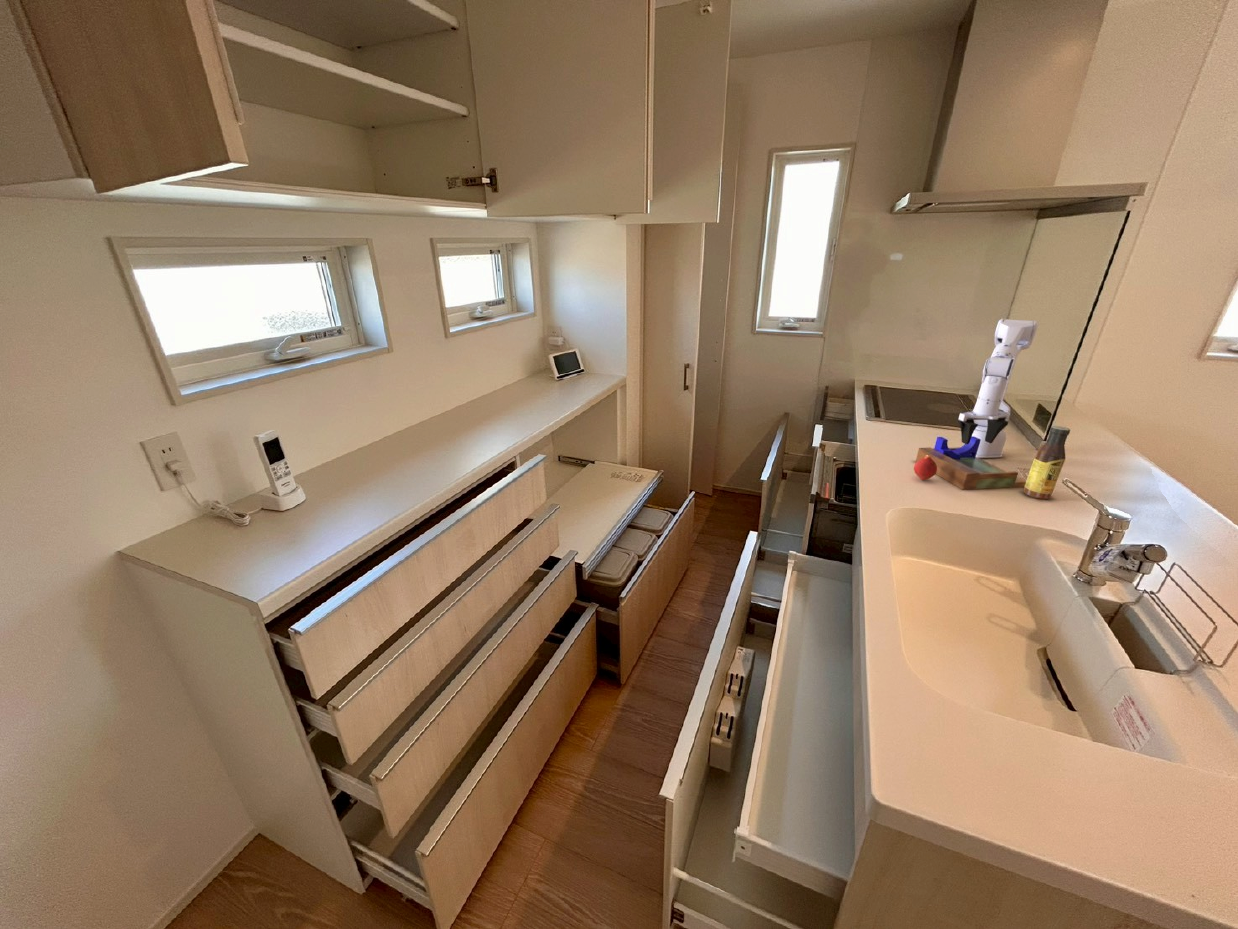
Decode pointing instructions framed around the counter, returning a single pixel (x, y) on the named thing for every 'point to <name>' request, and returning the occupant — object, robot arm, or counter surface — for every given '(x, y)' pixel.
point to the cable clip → (961, 452)
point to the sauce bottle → (1047, 464)
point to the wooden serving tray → (970, 471)
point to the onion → (925, 468)
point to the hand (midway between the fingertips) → (976, 442)
